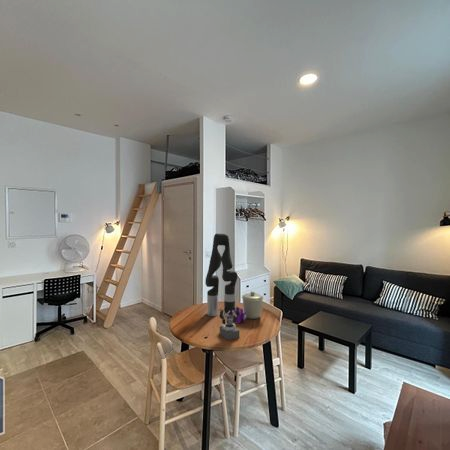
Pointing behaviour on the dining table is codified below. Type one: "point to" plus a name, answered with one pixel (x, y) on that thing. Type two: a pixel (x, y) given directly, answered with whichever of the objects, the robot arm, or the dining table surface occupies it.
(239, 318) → the toy camera
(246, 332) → the dining table surface
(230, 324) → the lens
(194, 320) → the dining table surface
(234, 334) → the camera body
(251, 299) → the canister
